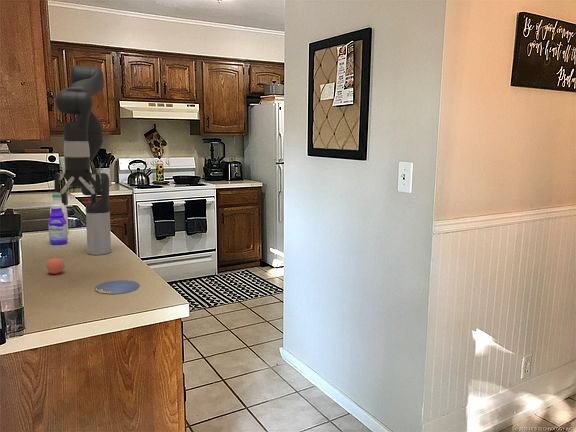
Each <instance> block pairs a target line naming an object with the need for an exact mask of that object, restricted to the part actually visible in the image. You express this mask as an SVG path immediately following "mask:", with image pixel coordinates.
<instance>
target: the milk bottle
mask: <svg viewBox="0 0 576 432" xmlns="http://www.w3.org/2000/svg"><path fill="white" fill-rule="evenodd" d="M51 196H52V203H51V205H61V207H62V212H63V214H64V218H65V220H66V224H67V235H69V221H68V220H69V219H68V210H67V205H64V204H62V199H61V193H59V192H55V193H52V195H51ZM50 214H51V207H50V209H49V215H50Z"/></svg>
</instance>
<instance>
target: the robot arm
mask: <svg viewBox="0 0 576 432" xmlns="http://www.w3.org/2000/svg"><path fill="white" fill-rule="evenodd" d="M70 81H71V82H70V83H71V86H70V87H66V88H63V89H62V90H60V91H59V92H57V94H56V96H55V101H54V104H55V107H56V109H57V110H58V111H59V112H60V113H61V114H64V115H75V121H68V122H65V123H64V124H63V138H64V140H63V141H64V142H63V156H64V157H63V159H64V173H61V172H56V173H55V174H54V181H53V182H54V183H53V184H54V185H53V186H54V189H53V190H54V192H55V193H61V199H62V204H64V205H65V206H68V205H69V198H68V193H67V192H68V191H69V189H70V188H71V187H72V188H77V187H79V188H80V191H81V194H82V195H83V196H90V203H89V204H87V205H86V206H85V223H86V225H85V226H86V247H87V250H86V251H87V254H88V255H92V256H96V255H97V256H98V255H99V256H101V255H106V254H110V253H111V252H112V242H111V241H112V240H111V239H112V237H111V235H112V233H111V212H110V211H111V210H110V208H111V207H110V176H109V174H107V173H105V172H91V164H92V162H93V160H94V158H95V157H96V155H97V154H98V152H99V151H100V149H101V148H102V146H103V143H104V141H103V139H104V138H103V127H102V126H103V125H102V123H101V122H100V121H99V119H98V118H97V116H96V115H95V113H94V112H93V110H92V109H93V103H94V102H93V98H92V97H94V96H95V95H97V94H99V93H100V92H102V90H103V88H104V86H105V85H104V84H105V76H104V72H103V70H102V69H101V68H100V67H98V66H97V67H96V66H90V65H88V66H87V65H73V66H72V67H71V69H70ZM63 178H64V179H65V181H66V183H65V184H64V186H63V187H62V185H61V184H62V183H61V181H62V180H63ZM99 196H100V198H99V199H98V197H99Z"/></svg>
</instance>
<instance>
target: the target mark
mask: <svg viewBox="0 0 576 432" xmlns="http://www.w3.org/2000/svg"><path fill="white" fill-rule="evenodd" d="M139 286H141V285H140V283H139V282H136V281H134V280H129V279H128V280H126V279H122V280H121V279H120V280H110V281H106V282H102V283H98V284H97V285H95V286H94V289H96V288H97V289H98V290H99V289H100V290H101V289H103V291H106V292H107V291H108V292H109V291H111V292H112V294H111V295H121V294H120V293H123V294H127V292H128V293H131V292H130V291H132V292H134V291H137V290H138V289H139V288H140V287H139ZM138 287H139V288H138ZM137 288H138V289H137ZM94 289H93V290H94ZM133 290H134V291H133ZM111 292H110V293H111ZM113 293H114V294H113Z"/></svg>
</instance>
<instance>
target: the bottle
mask: <svg viewBox="0 0 576 432" xmlns="http://www.w3.org/2000/svg"><path fill="white" fill-rule="evenodd" d="M50 208H51V214H50V213H49V220H48V223H47V224H48V225H47V226H48V237H49V239H48V240H49V242H50V245H54V246H57V245H65V244H66V243H68V234H67V224H66V220H65V218H64V214H63V212H62V207H61V205H52V204H51V206H50Z"/></svg>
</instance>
